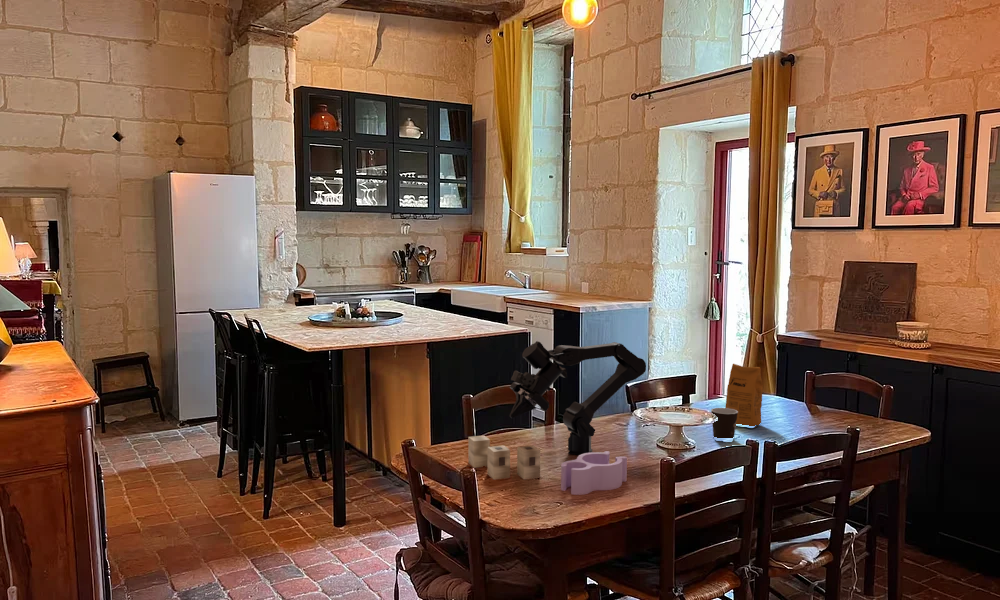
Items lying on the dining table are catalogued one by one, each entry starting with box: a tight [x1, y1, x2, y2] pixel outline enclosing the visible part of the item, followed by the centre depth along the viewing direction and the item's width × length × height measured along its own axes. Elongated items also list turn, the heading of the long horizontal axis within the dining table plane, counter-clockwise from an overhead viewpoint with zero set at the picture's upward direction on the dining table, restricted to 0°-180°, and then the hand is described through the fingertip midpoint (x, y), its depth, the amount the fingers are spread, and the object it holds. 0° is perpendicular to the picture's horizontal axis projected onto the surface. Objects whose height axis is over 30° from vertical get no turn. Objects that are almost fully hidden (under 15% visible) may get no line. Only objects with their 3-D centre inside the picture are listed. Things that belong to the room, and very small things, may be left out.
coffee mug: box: [710, 407, 738, 438], centre depth 251 cm, size 12×9×10 cm
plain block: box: [467, 435, 491, 469], centre depth 222 cm, size 5×5×8 cm
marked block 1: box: [486, 445, 511, 480], centre depth 212 cm, size 5×5×8 cm
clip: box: [560, 450, 628, 496], centre depth 205 cm, size 20×12×7 cm, turn 129°
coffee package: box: [724, 363, 764, 426], centre depth 269 cm, size 10×12×22 cm
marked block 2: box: [516, 444, 541, 480], centre depth 212 cm, size 5×5×8 cm
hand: (510, 417), depth 225 cm, fingers closed
